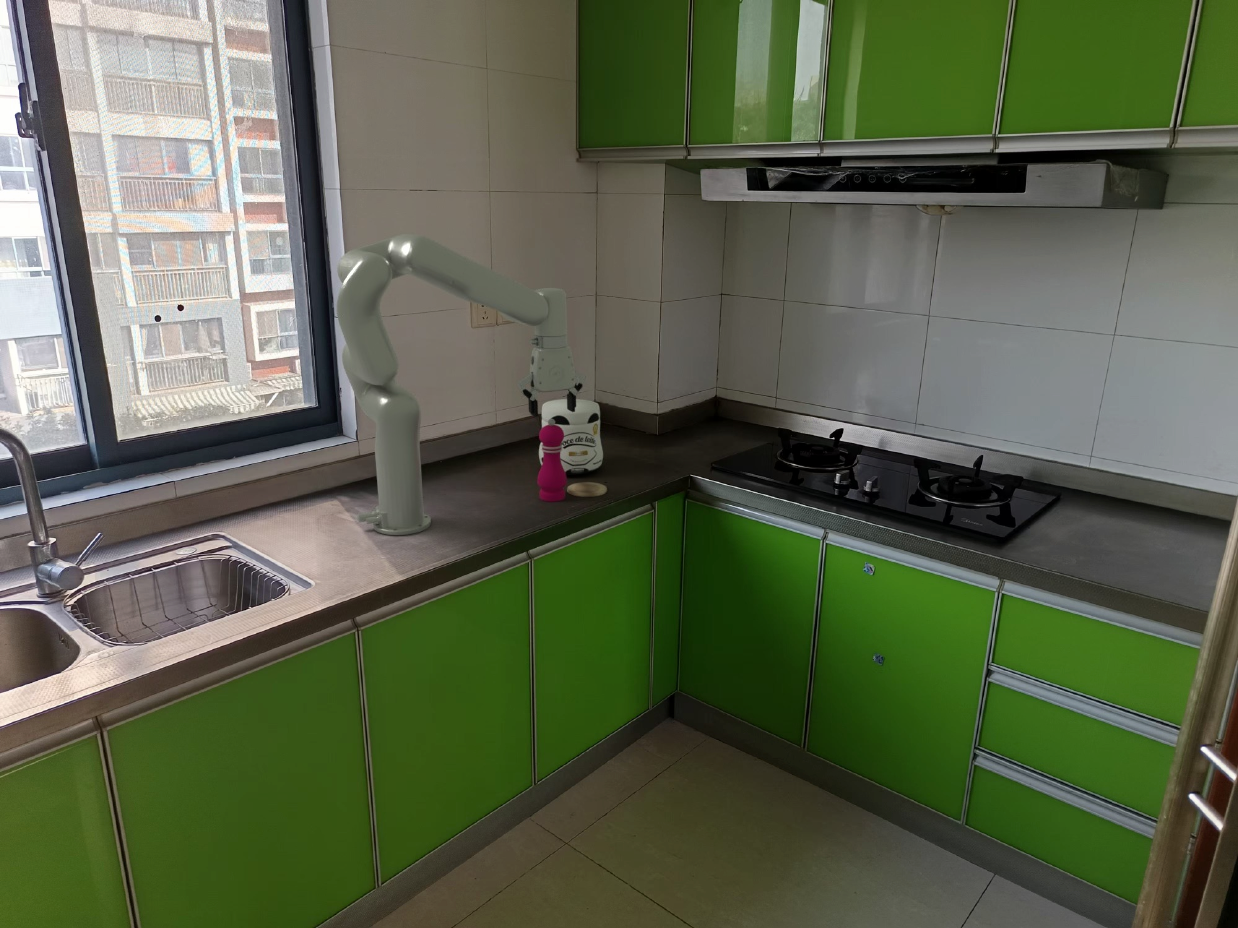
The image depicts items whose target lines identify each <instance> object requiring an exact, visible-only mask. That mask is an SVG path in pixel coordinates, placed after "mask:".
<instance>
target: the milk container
mask: <svg viewBox="0 0 1238 928" xmlns="http://www.w3.org/2000/svg"><path fill="white" fill-rule="evenodd" d="M549 419H554V420H555V425H557V426H559V427H561V428H562V430H563V432H564V439H563V441H562V442H561V444H562V451H560V459H561V464H562V466H563V469H564V471H565V473H566V476H567V475H568V476H569V475H570V476H575V475H584V474H588V473H592V472H594V471H596V470H598V469H599V468H600V467H601V466H602V463H603V458H604V447H603V444H602V440H601V431H600V430H601V410H600V405H599V403H598V402H595V401H593V400H588V399H579V398H576V407H575V412H571V411H569V410H568V409H567V398H563V399H561V398H559V399H553V400H549V401H546V402H544V403H543V404H542V406H541V429H542V428H543V427H544V426H546V425H548V420H549ZM542 444H543V443H542V442H541V441H540V444H539V449H538V457H539V462H540V465H541V466H542V464H543V451H542V450H541V449H542V446H541V445H542Z"/></svg>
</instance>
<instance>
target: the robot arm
mask: <svg viewBox="0 0 1238 928" xmlns="http://www.w3.org/2000/svg"><path fill="white" fill-rule="evenodd" d="M336 272H337V275H338V276H337V277H338V279H339V280H340V282H341V283H342V284H341V287H340V289H339V293H338V295H337V301H336V316H337V320H338V324H339V327H340V330H341V332H342V335H343V338H344V342H345V345H344V347H343V349H342V353H341V361H342V366H343V369H344V371H345V374H346V376H347V380H348V381H349V383H350V386H351V389H352V390H353V394H354V395H355V398H356V400H357V402H358V405H359V407H360V409H361V411H362V412H363V413H364V414H365V416H367V418H368V419H370V420H372V422H374V423H375V438H374V456H375V457H374V458H375V459H374V460H375V469H376V480H377V484H376V485H377V497H378V505H376V506H375V509H374V510H371V512H362V513H361V512H360V513H357V515H356V516H357V521H358V523H364V522H366V525H368V524H369V525H370V524H372V527H373V529H374V531H375V532H377V533H380V534H382V535H389V536H405V535H406V536H407V535H411V534H417V533H419V532H422V531H423V532H424V531H425V530H427V529H428V528H430V526H431V524H432V519H431V517H430V515H428V514H425V513H424V500H423V486H422V485H423V483H422V482H423V481H422V480H423V479H422V463H421V450H420V448H421V447H420V446H421V445H420V441H421V440H420V438H421V437H420V434H421V433H420V432H421V424H422V423H421V422H422V411H421V405H420V403H419V401H418V399H417V397H416V396H415V395H414V394H413V393H412V392H410V391H409V390H407V389H406V388H404V387H402V386H400V385H398V383H397V381H396V377H397V375H398V373H399V369H400V367H399V365H400V364H399V359H398V356H397V353H396V351H395V349H394V346H393V344H392V341H391V339H390V336H389V334H388V332H387V329H386V326H385V323H384V320H383V318H382V314H381V313H382V312H381V302H382V299H383V298H384V297H383V296H384V295H385V293H386V291H387V290H388V289H389V287H390V285H391V283H392V281H393V280H395V279H397V278H401V277H403V276H405V275H410V276H413V277H415V278H418V279H420V280H421V281H423V282H426V283H428V284H430V285H432V286H434V287H436V288H438V289H439V290H442V291H444V292H446V293H449V294H451V295H453V296H454V297H456V298H459V299H461V300H464V301H467V302H469V303H473V304H477V305H479V306H484V307H486V308H489V309H491V310H494V311H497V312H499V314H500V315H501V317H503V318H504V319H505V320H507V321H508V322H509V321H510V322H513V323H516V324H521V325H523V326H527V327H534V335H533V338H530V339H529V345H531V346H532V345H533V347H534V348H532V351H531V356H530V365H529V373H528V374H527V375H526V376H525V377H523V378H522V379H520V380H518V381H517V382H516V385H517V387H518V388H519V390H520V393H522V395H523V396H524V397H526V399H527V401H528V413H530V415H531V416H533V417H534V418H536V417H538V416H539V406H538V405H539V404H538V402H539V401H538V400H537V397H538V396H539V394H540V393H551V392H560V391H567V392H568V393H566V399H567V409H568V410H569V411H571V412H575V407H576V399H577V396H578V395H579V392H580V390H582V388H583V385H584V383H585V381H586V378H587V376H586V374H585V375H584V374H582V373H580V372H579V371H575V363H574V357H573V352H572V348H571V346H568V323H567V321H568V319H567V315H568V314H567V312H568V311H567V294H566V292H565V290H564V289H563V288H557V287H545V288H543V287H542V288H538V289H532V288H529V287H528V286H525V285H524V284H523V283H520V282H518V281H515V280H514V279H511V278H509V277H508V276H505V275H503V274H501V273H499V272H496V271H494V270H493V269H491V268H489V267H487V266H485V265H483V264H480V263H479V262H477V261H474V260H472V259H471V258H468V257H467V256H464V255H462V254H460V253H458V252H457V251H455V250H453V249H451V248H449V247H447V246H446V245H444V244H442V243H439V242H438V241H435V240H433V239H431V238H429V237H427V236H425V235H424V236H423V235H420V234H411V233H403V234H398V235H395V236H393V237H390V238H386V239H383V240H379V241H377V242H374V243H372V244H367V245H364V246H361V247H357V248H355V249H352V250H349V251H347V252H346V253H345V254H343V256H341V257H340V259H339V261H338V264H337V271H336ZM576 379H577V380H576ZM528 383H529V385H530V388H529V390H528V388H527V386H526V385H527V384H528Z"/></svg>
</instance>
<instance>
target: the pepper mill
mask: <svg viewBox="0 0 1238 928" xmlns="http://www.w3.org/2000/svg"><path fill="white" fill-rule="evenodd" d="M538 436H539V437H538V438H539V441H540V443H541V442H542V443H543V444H542V445H541V446H542V449H541V450H542V451H543V464H542V465H541V467H540V470H539V472H538V476H537V479H536V480H537V485H538V486H539V488H540V490H539V499H540V500H541V501H544V502H552V503H553V502H561V501H563V500H564V499H565V498H566V489H564V488H565V487H566V486H567V484H568V480H567V479H568V478H567V475H566V473H565V471H564V469H563V466H562V464H561V459H560V451H562V444H561V442H562V441H563V439H564V432H563V430H562V428H561V427H559V426H557V425H555V420H554V419H549V420H548V425H546V426H544V427H543V428H542V427H541V429H540V430H539V433H538Z"/></svg>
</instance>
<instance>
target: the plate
mask: <svg viewBox="0 0 1238 928" xmlns="http://www.w3.org/2000/svg"><path fill="white" fill-rule="evenodd" d="M566 492H567V493H568V494H570V495H571V496H574V497H580V498H595V497H601V496H603V495H605V494H606V493H607V492H608V488H607V486H606V485H605V484H602V483H598V482H593V481H592V482H590V481H587V482H586V481H583V482H577V483H572V484H569V485H568V486H567V488H566Z"/></svg>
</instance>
